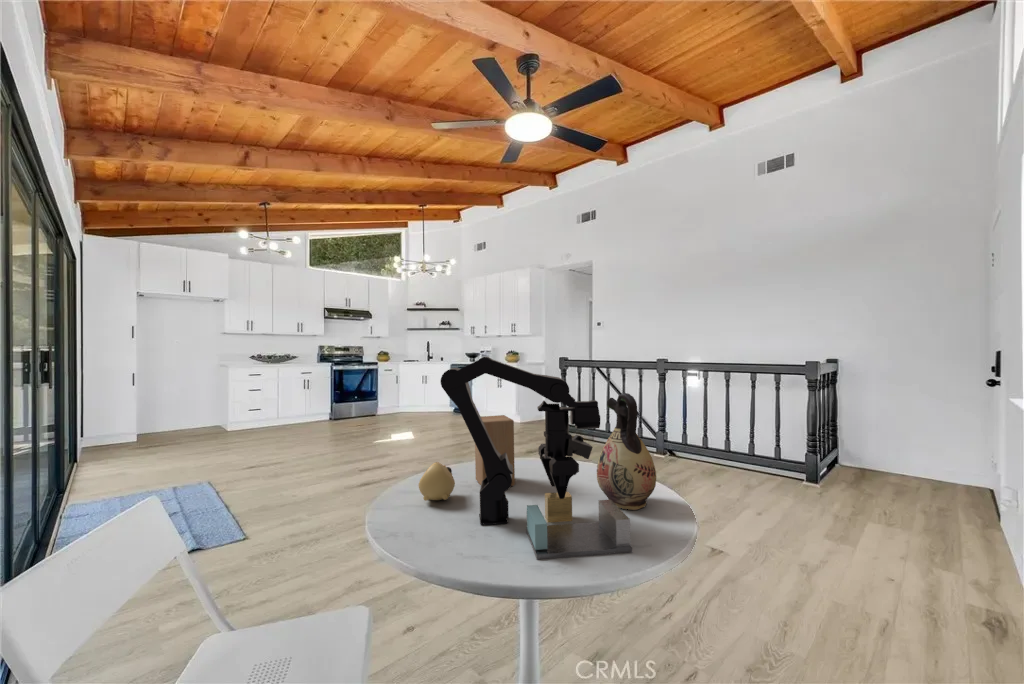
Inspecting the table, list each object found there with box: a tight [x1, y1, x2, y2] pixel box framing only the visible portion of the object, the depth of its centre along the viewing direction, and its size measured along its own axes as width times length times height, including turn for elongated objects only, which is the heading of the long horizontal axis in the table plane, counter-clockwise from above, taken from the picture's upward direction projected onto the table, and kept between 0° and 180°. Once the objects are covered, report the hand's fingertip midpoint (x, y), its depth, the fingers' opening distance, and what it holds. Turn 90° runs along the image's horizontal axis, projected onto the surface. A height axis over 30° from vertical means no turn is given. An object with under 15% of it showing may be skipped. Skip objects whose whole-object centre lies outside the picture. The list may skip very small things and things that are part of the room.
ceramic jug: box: [596, 392, 657, 511], centre depth 124 cm, size 17×15×30 cm
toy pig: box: [418, 461, 456, 502], centre depth 130 cm, size 10×12×11 cm
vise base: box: [525, 499, 633, 561], centre depth 103 cm, size 20×14×6 cm
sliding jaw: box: [526, 504, 548, 550], centre depth 101 cm, size 2×11×5 cm, turn 7°
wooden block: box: [474, 414, 516, 487], centre depth 144 cm, size 10×10×20 cm
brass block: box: [544, 491, 573, 524], centre depth 115 cm, size 4×6×6 cm, turn 97°
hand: (557, 492), depth 115 cm, fingers open, 9 cm apart
